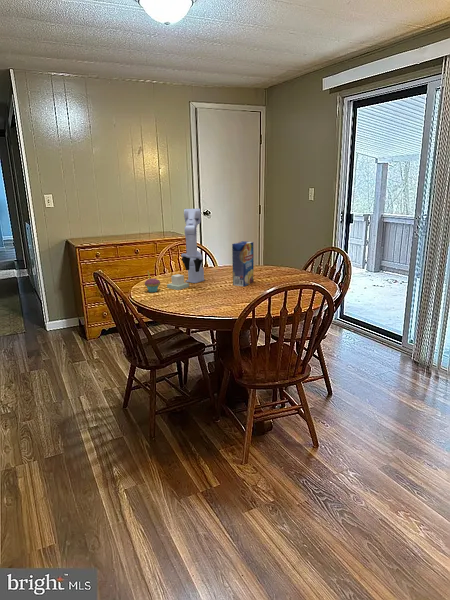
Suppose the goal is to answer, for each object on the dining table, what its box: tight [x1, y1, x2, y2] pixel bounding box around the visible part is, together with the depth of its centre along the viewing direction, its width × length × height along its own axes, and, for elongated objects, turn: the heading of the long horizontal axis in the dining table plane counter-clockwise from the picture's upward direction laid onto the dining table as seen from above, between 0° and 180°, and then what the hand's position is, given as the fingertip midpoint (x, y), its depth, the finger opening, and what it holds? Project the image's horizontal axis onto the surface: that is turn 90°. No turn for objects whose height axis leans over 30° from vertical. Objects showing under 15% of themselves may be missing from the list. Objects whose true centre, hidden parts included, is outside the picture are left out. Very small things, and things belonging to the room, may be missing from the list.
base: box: [166, 282, 190, 291], centre depth 234 cm, size 9×9×2 cm
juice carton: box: [231, 240, 255, 287], centre depth 236 cm, size 12×8×24 cm, turn 149°
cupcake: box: [144, 270, 161, 293], centre depth 226 cm, size 9×8×12 cm
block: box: [170, 273, 185, 285], centre depth 233 cm, size 5×5×5 cm
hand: (192, 270), depth 230 cm, fingers open, 7 cm apart
